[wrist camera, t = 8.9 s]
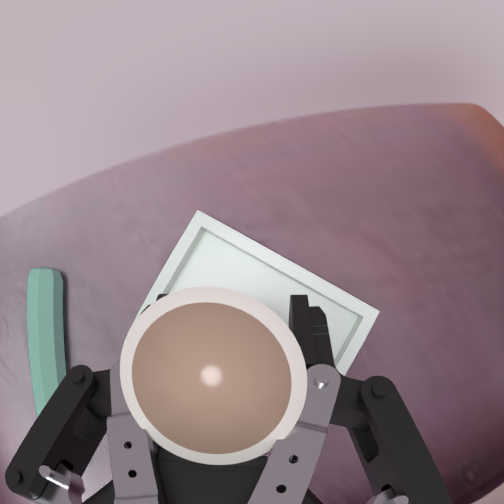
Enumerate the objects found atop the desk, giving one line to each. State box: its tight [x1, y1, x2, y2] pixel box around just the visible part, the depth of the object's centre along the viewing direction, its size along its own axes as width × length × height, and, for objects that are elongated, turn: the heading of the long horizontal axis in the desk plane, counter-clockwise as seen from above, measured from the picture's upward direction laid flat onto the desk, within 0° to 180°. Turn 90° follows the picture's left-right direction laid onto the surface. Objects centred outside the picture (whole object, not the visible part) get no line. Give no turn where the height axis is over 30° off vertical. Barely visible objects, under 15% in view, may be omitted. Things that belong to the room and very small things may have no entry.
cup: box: [120, 286, 307, 465], centre depth 12 cm, size 5×5×10 cm
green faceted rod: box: [27, 267, 66, 418], centre depth 27 cm, size 6×6×25 cm
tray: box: [128, 210, 379, 376], centre depth 28 cm, size 20×14×2 cm
